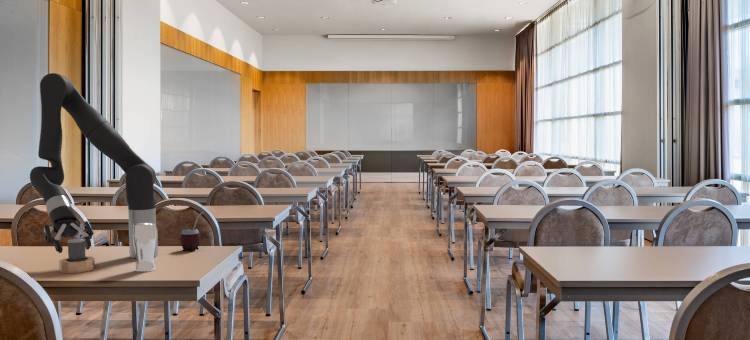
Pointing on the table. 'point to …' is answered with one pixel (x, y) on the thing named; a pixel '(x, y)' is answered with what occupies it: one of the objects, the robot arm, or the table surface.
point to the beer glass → (144, 246)
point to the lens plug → (76, 249)
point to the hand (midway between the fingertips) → (75, 249)
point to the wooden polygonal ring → (76, 265)
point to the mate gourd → (190, 238)
